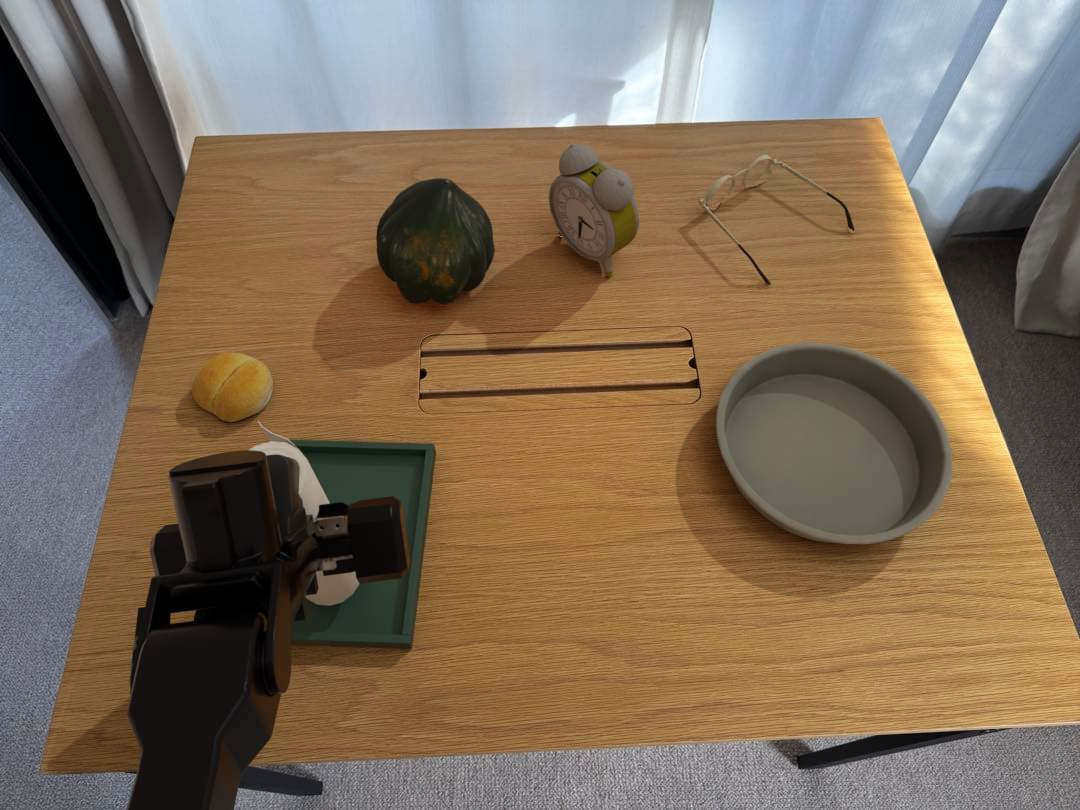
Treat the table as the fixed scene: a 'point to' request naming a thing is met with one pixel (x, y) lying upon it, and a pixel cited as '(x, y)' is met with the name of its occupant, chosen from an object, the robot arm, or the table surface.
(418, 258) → the squash
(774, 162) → the wire-rimmed eyeglasses
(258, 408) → the bread roll
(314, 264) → the table surface
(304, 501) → the paper towel roll
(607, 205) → the alarm clock
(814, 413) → the cake pan
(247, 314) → the table surface
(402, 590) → the tray
